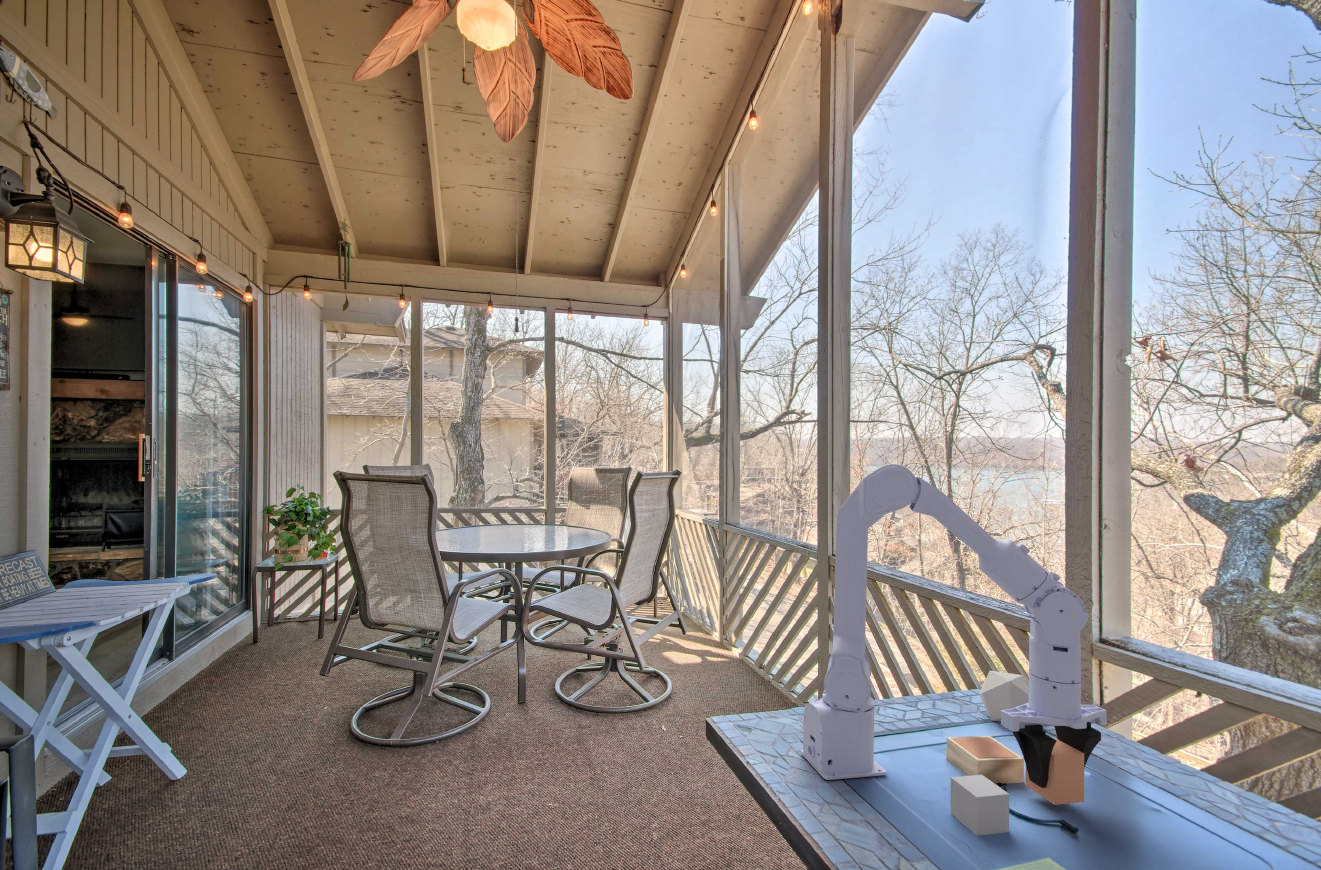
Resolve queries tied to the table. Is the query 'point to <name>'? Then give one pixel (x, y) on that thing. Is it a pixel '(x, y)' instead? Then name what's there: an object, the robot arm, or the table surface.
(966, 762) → the maple base
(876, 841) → the table surface
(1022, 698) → the die
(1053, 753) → the terracotta block
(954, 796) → the grey block
